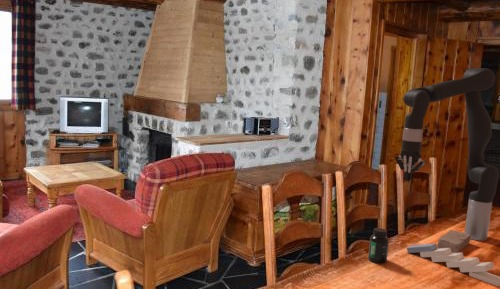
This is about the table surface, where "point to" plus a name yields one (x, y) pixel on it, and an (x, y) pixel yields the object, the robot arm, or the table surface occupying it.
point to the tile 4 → (463, 262)
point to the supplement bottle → (378, 246)
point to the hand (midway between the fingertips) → (407, 180)
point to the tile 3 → (448, 257)
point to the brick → (454, 241)
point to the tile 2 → (436, 252)
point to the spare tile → (422, 248)
